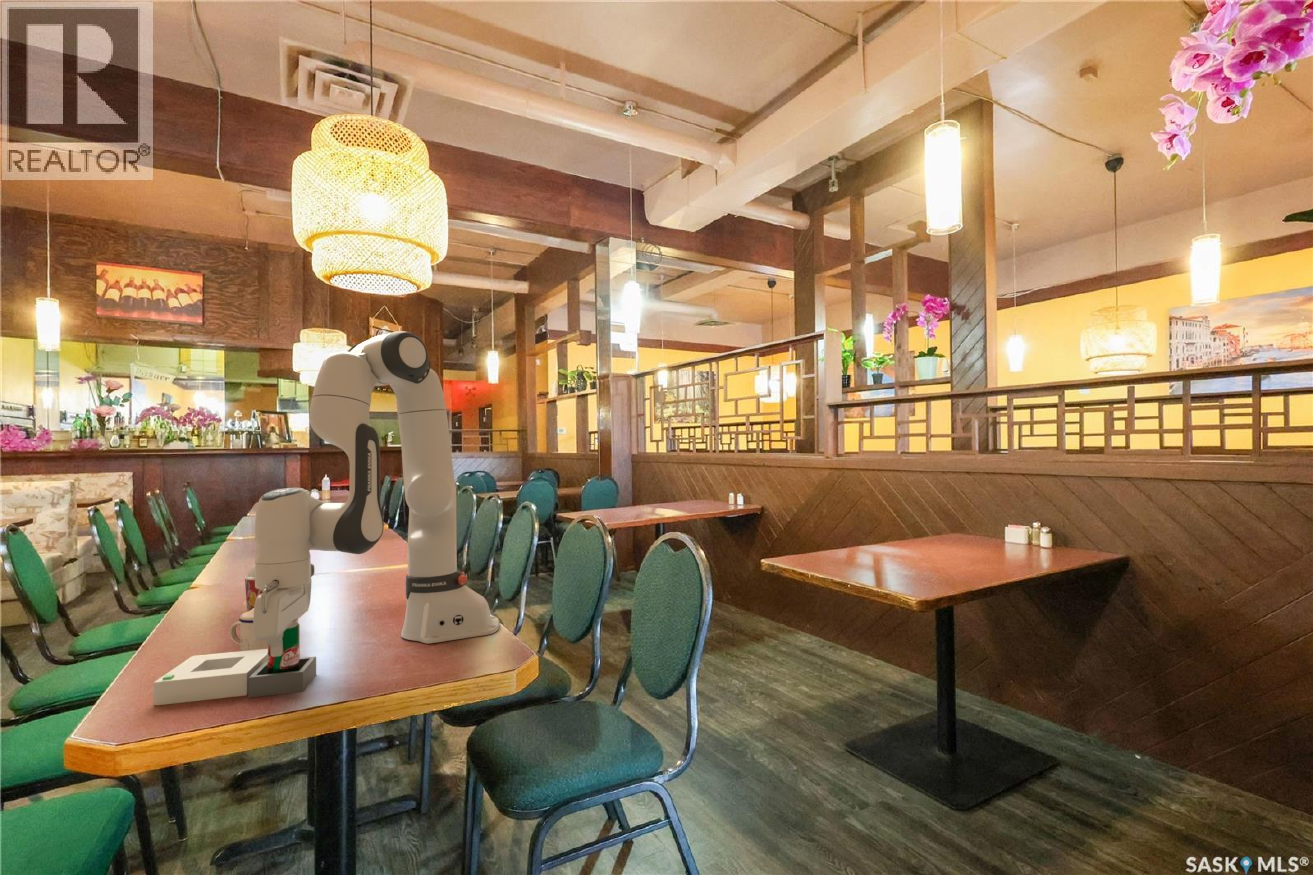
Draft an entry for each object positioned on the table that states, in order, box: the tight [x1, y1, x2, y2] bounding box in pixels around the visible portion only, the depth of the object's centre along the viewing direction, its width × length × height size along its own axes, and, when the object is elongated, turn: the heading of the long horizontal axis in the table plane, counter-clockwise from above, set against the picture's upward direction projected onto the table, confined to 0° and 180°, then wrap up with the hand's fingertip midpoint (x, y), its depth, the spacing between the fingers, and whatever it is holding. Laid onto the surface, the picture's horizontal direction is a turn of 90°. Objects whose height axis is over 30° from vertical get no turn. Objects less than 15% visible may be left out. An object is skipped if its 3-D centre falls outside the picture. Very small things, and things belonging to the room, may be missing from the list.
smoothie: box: [244, 563, 263, 612], centre depth 146 cm, size 8×8×20 cm
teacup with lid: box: [229, 608, 268, 651], centre depth 128 cm, size 12×9×12 cm
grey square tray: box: [248, 655, 317, 699], centre depth 111 cm, size 9×9×4 cm
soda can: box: [268, 619, 301, 674], centre depth 111 cm, size 5×5×12 cm
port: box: [153, 649, 268, 707], centre depth 111 cm, size 14×14×4 cm
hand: (283, 649), depth 111 cm, fingers closed on soda can, 5 cm apart
